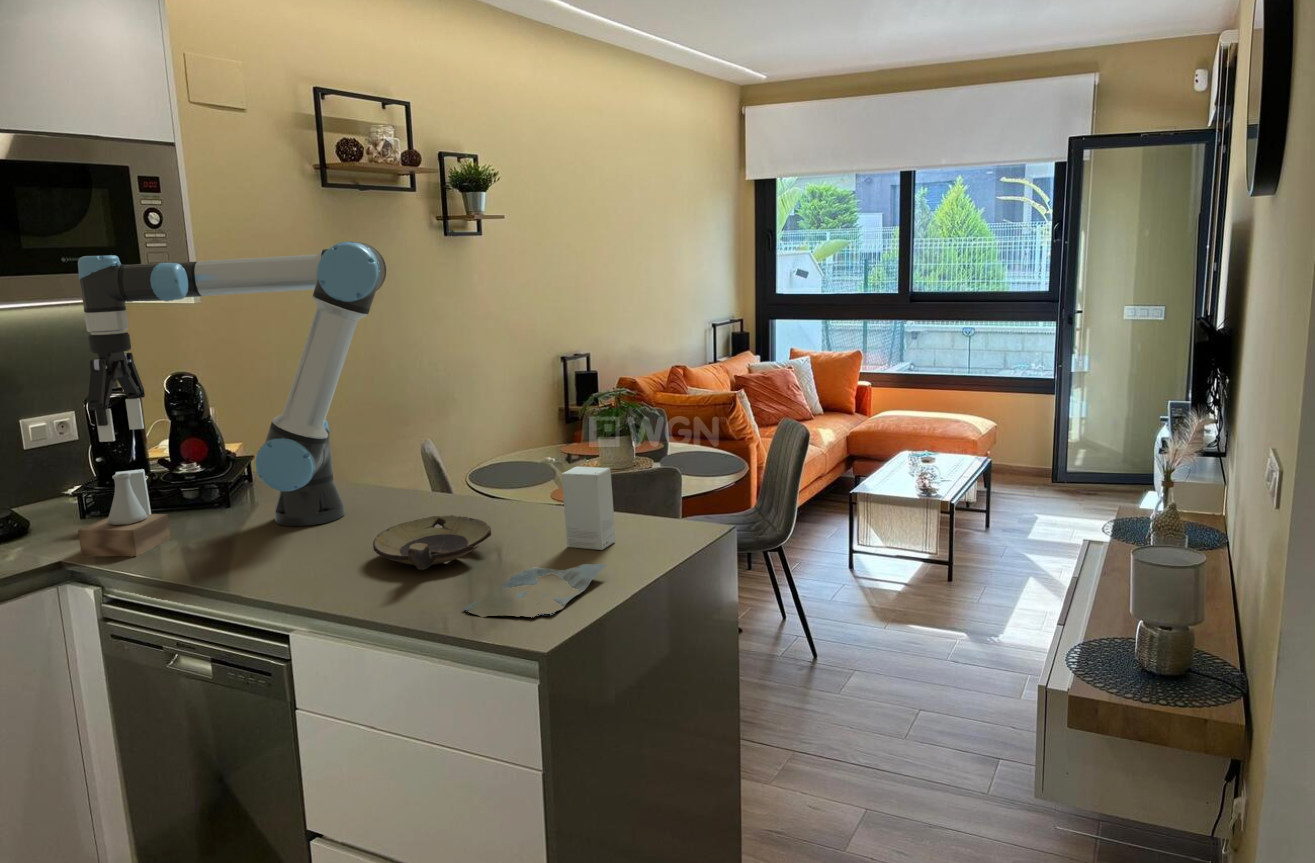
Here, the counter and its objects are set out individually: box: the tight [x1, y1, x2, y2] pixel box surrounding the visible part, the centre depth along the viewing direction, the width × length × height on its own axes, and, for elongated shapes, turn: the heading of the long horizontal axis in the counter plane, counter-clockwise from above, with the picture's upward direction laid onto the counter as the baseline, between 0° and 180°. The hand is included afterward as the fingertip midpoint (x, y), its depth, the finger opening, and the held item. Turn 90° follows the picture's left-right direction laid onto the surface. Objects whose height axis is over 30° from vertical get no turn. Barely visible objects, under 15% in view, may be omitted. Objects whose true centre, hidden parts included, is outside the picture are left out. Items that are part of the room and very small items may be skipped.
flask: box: [107, 473, 148, 525], centre depth 206 cm, size 7×7×10 cm
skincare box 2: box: [561, 465, 617, 551], centre depth 198 cm, size 8×7×16 cm
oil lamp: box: [372, 514, 492, 571], centre depth 191 cm, size 22×30×8 cm
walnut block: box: [77, 513, 172, 558], centre depth 207 cm, size 12×12×6 cm
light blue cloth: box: [462, 563, 608, 619], centre depth 172 cm, size 24×16×2 cm, turn 157°
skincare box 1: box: [114, 468, 152, 514], centre depth 226 cm, size 6×4×12 cm
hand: (122, 435), depth 205 cm, fingers open, 13 cm apart
